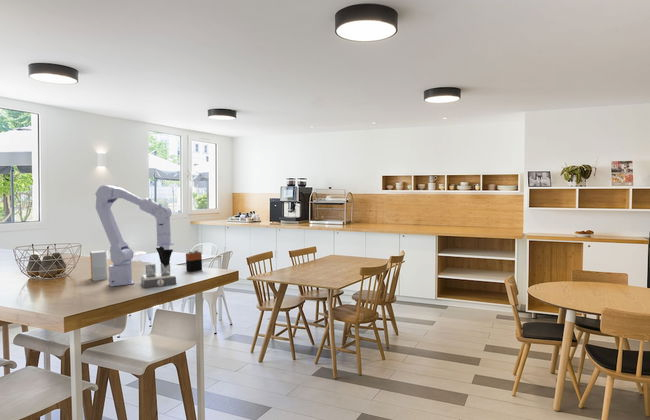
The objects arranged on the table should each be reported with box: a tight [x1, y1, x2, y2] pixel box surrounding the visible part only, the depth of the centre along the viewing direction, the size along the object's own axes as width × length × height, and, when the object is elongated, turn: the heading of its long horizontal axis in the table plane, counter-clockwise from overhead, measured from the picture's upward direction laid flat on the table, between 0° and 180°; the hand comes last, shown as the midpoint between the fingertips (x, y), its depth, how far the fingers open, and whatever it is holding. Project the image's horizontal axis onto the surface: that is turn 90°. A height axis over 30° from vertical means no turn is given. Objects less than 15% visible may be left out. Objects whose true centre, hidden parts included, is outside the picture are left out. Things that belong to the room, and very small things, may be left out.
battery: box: [185, 250, 203, 273], centre depth 226 cm, size 4×7×10 cm, turn 141°
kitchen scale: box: [140, 271, 177, 289], centre depth 196 cm, size 13×12×4 cm
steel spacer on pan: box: [145, 263, 157, 277], centre depth 195 cm, size 4×4×5 cm
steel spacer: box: [160, 262, 171, 276], centre depth 198 cm, size 4×4×5 cm
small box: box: [89, 249, 108, 282], centre depth 211 cm, size 8×6×13 cm
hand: (164, 264), depth 198 cm, fingers open, 7 cm apart
